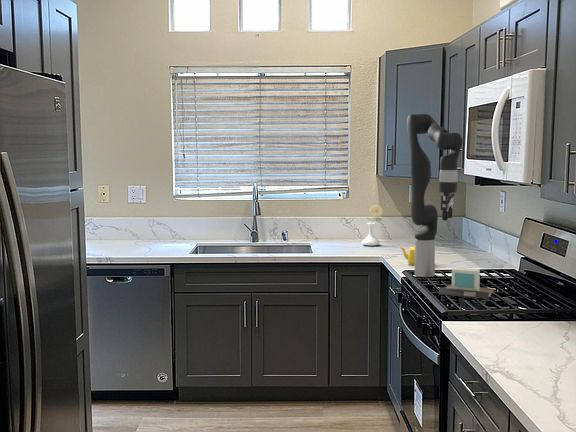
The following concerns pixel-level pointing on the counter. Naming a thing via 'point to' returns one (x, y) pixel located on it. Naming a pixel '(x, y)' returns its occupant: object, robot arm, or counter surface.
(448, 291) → the shelf plank
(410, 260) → the teapot
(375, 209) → the flower in vase
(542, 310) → the counter surface
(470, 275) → the carton
